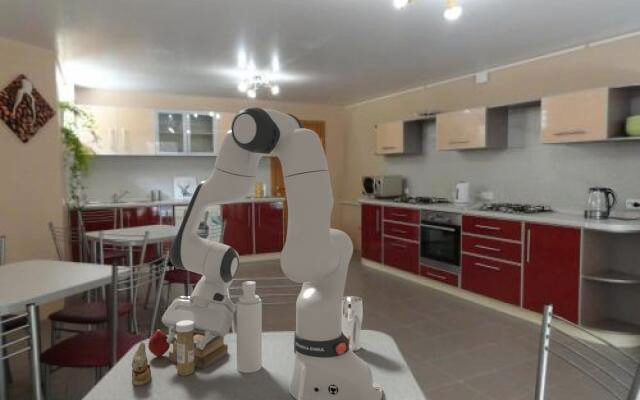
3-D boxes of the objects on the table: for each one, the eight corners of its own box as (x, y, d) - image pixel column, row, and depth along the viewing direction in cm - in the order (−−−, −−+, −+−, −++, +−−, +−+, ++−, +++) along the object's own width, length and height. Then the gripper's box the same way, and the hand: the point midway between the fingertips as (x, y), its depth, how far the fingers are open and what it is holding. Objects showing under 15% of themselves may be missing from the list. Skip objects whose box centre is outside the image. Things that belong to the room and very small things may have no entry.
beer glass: (335, 345, 137) (335, 297, 136) (355, 341, 140) (355, 294, 139) (346, 353, 130) (346, 303, 130) (366, 349, 133) (367, 300, 132)
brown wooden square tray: (227, 352, 131) (227, 332, 130) (204, 368, 120) (204, 346, 120) (194, 346, 135) (194, 327, 135) (169, 360, 125) (168, 339, 125)
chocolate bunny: (122, 386, 110) (121, 346, 109) (140, 372, 118) (139, 335, 117) (142, 388, 109) (142, 348, 109) (159, 373, 117) (158, 336, 116)
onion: (173, 353, 130) (173, 326, 130) (164, 361, 124) (164, 333, 124) (154, 352, 131) (153, 325, 130) (144, 360, 125) (144, 332, 124)
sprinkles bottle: (197, 373, 117) (196, 323, 116) (179, 377, 115) (178, 326, 114) (191, 367, 121) (191, 318, 120) (174, 371, 118) (173, 321, 118)
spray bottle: (232, 367, 121) (231, 276, 120) (253, 360, 126) (252, 272, 124) (245, 375, 116) (244, 281, 115) (266, 368, 121) (266, 277, 119)
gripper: (171, 289, 127) (146, 334, 119) (232, 297, 119) (210, 346, 111) (182, 300, 132) (159, 344, 123) (241, 309, 124) (221, 357, 115)
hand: (184, 345), depth 117 cm, fingers open, 8 cm apart
